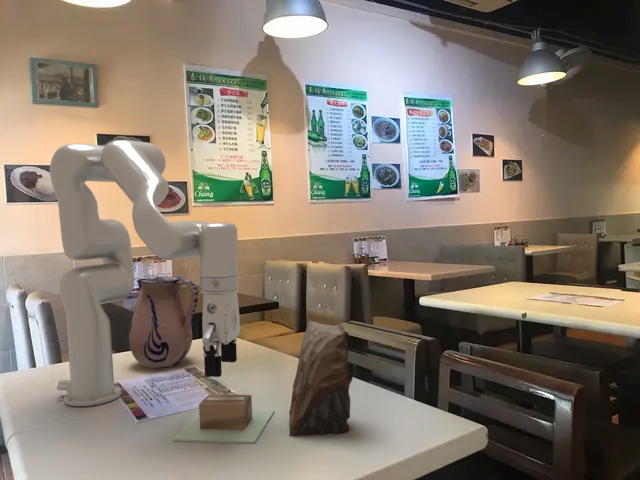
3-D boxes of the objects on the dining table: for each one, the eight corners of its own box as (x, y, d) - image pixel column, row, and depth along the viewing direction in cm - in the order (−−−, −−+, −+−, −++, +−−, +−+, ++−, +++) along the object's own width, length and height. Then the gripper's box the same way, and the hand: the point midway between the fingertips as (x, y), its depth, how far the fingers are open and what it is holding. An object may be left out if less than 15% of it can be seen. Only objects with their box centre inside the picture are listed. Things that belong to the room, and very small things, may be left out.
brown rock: (302, 412, 118) (299, 319, 117) (361, 414, 115) (358, 319, 114) (286, 436, 106) (281, 332, 105) (351, 439, 103) (347, 333, 102)
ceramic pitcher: (147, 356, 170) (142, 275, 169) (213, 356, 168) (209, 273, 166) (118, 373, 153) (113, 283, 152) (192, 373, 150) (187, 281, 149)
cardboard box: (244, 430, 108) (242, 403, 108) (200, 429, 110) (198, 403, 110) (252, 418, 114) (251, 393, 114) (210, 417, 116) (209, 393, 116)
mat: (172, 441, 105) (172, 439, 105) (203, 410, 121) (202, 409, 121) (254, 443, 103) (254, 441, 103) (274, 412, 119) (274, 410, 119)
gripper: (223, 291, 102) (225, 383, 103) (249, 278, 119) (251, 357, 120) (184, 291, 103) (187, 381, 104) (215, 278, 120) (217, 356, 121)
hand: (221, 368), depth 112 cm, fingers open, 9 cm apart
